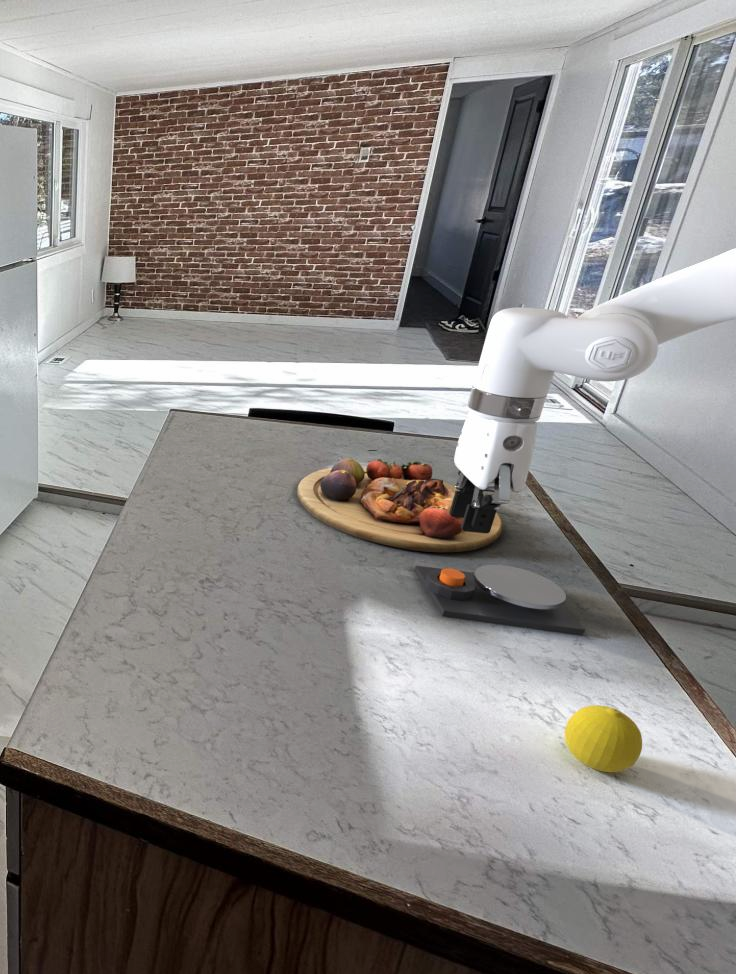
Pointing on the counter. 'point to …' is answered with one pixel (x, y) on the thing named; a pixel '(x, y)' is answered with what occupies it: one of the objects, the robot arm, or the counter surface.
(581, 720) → the lemon
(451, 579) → the tare button
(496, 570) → the scale pan
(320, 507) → the wooden plate
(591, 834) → the counter surface
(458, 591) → the scale
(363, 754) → the counter surface
